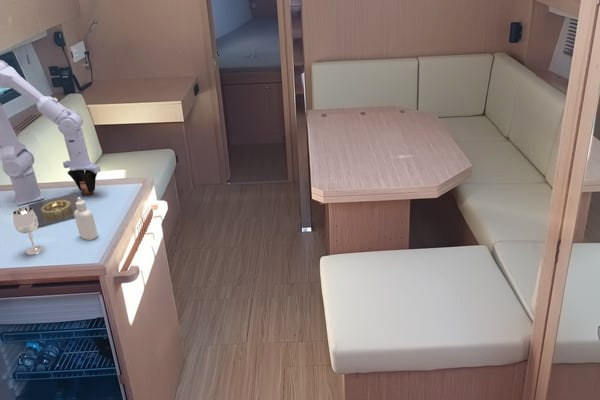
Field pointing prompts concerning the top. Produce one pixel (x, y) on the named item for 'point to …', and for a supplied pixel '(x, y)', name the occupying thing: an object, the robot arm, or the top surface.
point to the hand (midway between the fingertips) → (87, 190)
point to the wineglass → (27, 226)
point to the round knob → (85, 188)
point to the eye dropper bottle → (85, 221)
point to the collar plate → (55, 209)
